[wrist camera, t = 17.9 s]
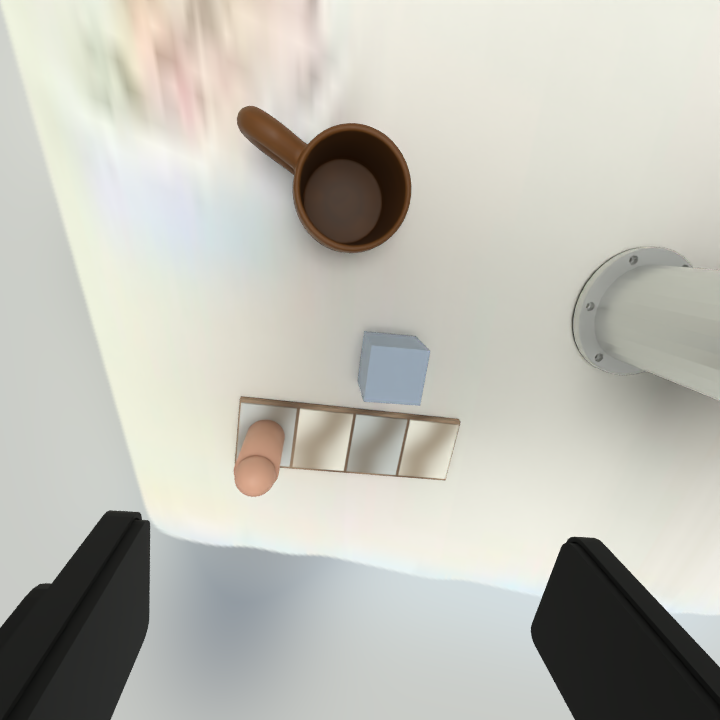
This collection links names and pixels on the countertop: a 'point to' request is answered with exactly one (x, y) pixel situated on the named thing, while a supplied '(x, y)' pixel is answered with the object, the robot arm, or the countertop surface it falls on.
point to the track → (355, 438)
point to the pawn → (259, 458)
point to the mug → (338, 179)
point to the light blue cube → (392, 368)
